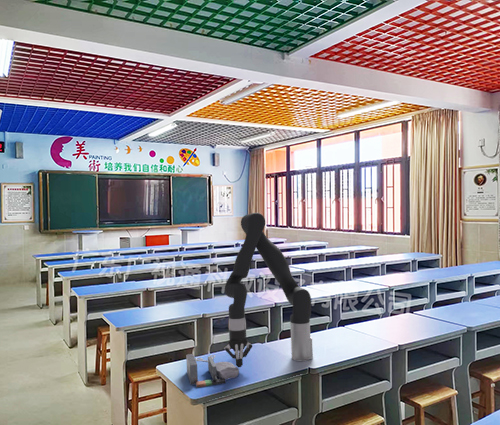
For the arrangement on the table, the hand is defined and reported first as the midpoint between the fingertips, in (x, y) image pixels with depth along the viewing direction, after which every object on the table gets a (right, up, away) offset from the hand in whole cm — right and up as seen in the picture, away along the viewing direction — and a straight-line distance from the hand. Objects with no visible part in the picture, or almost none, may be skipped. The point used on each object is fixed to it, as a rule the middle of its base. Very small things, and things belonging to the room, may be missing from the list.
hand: (239, 366), depth 182 cm
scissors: (-14, -3, +13) cm, 19 cm away
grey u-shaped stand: (-14, -3, -6) cm, 16 cm away
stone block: (-5, -3, -2) cm, 6 cm away
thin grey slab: (-11, -2, -6) cm, 12 cm away
